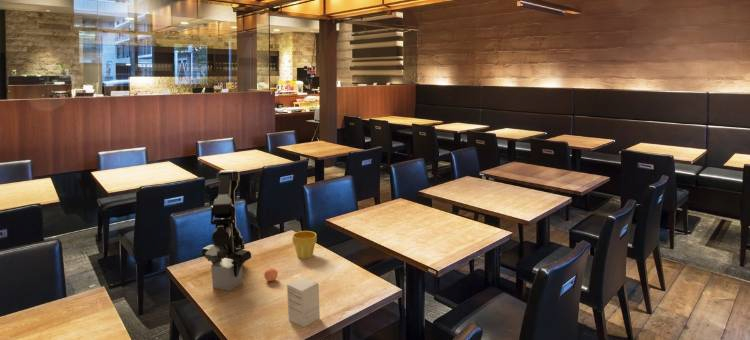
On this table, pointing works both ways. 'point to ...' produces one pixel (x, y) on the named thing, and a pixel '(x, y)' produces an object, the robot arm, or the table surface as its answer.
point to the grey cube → (225, 275)
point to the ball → (270, 274)
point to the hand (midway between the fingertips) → (227, 274)
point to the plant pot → (304, 243)
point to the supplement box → (303, 301)
